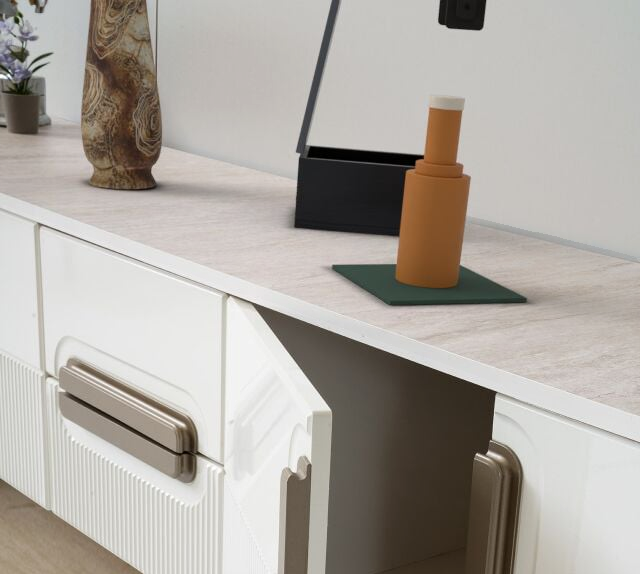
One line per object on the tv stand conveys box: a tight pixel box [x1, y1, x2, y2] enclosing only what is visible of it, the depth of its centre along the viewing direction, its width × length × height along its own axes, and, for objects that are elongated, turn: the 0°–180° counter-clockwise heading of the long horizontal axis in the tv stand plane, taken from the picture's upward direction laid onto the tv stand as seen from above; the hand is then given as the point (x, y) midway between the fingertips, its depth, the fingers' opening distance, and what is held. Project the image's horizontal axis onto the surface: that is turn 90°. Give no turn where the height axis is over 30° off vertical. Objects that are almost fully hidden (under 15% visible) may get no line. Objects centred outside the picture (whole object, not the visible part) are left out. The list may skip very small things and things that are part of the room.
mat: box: [331, 263, 528, 306], centre depth 108 cm, size 14×14×1 cm
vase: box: [80, 0, 163, 190], centre depth 142 cm, size 10×11×30 cm
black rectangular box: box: [293, 144, 424, 237], centre depth 134 cm, size 16×13×8 cm
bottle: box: [395, 94, 472, 288], centre depth 105 cm, size 6×6×17 cm
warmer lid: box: [295, 0, 343, 155], centre depth 129 cm, size 16×13×1 cm
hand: (459, 27), depth 99 cm, fingers open, 9 cm apart
